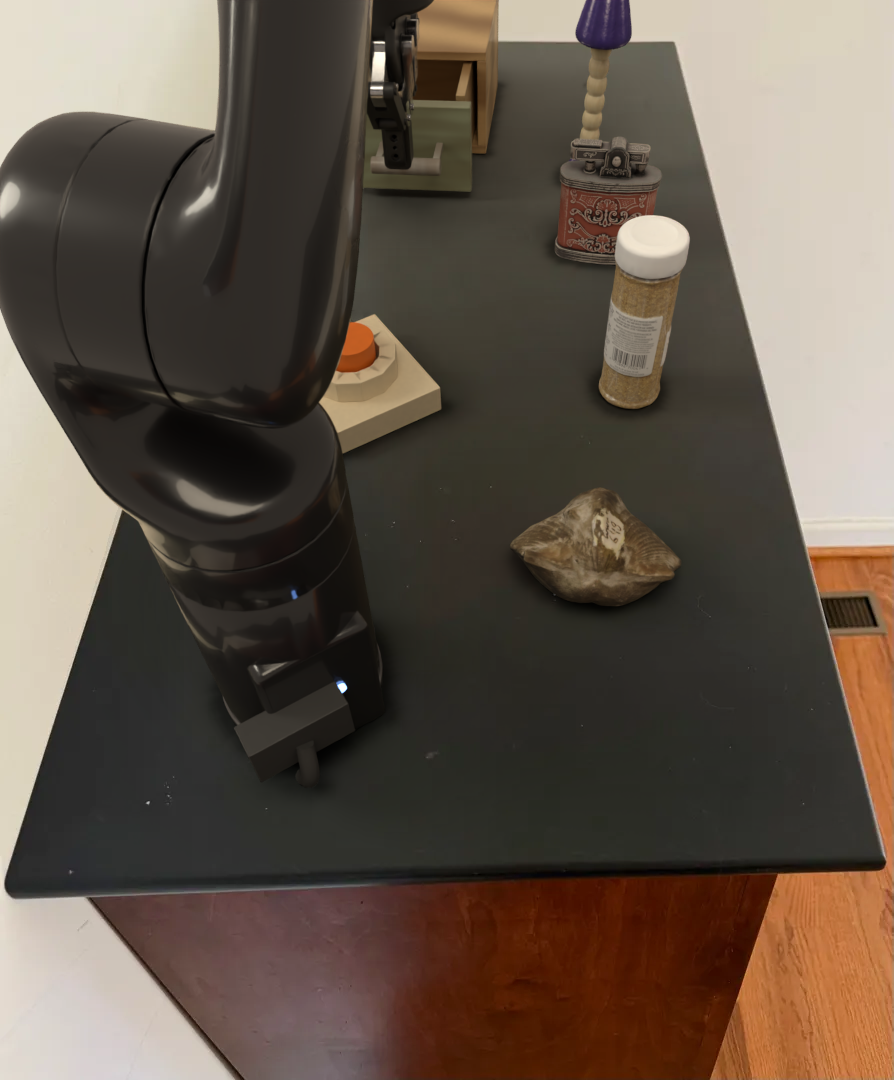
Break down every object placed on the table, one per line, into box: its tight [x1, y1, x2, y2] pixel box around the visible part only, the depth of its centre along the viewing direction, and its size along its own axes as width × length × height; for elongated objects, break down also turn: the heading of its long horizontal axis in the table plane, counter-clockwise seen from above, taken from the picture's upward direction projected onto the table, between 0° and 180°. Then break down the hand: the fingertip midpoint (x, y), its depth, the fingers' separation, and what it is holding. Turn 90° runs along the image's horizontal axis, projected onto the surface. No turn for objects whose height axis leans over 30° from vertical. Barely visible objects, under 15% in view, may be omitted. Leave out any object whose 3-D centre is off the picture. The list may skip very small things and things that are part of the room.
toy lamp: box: [568, 0, 633, 161], centre depth 79 cm, size 5×5×17 cm
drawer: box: [363, 60, 477, 192], centre depth 83 cm, size 17×10×8 cm, turn 173°
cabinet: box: [417, 0, 500, 154], centre depth 90 cm, size 14×12×10 cm
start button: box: [336, 321, 376, 373], centre depth 65 cm, size 4×4×2 cm
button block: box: [319, 313, 442, 454], centre depth 67 cm, size 10×9×4 cm
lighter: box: [554, 136, 663, 265], centre depth 74 cm, size 8×3×10 cm, turn 80°
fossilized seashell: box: [509, 487, 682, 607], centre depth 56 cm, size 8×7×10 cm
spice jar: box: [598, 214, 691, 410], centre depth 62 cm, size 5×5×14 cm
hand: (399, 164), depth 75 cm, fingers closed
